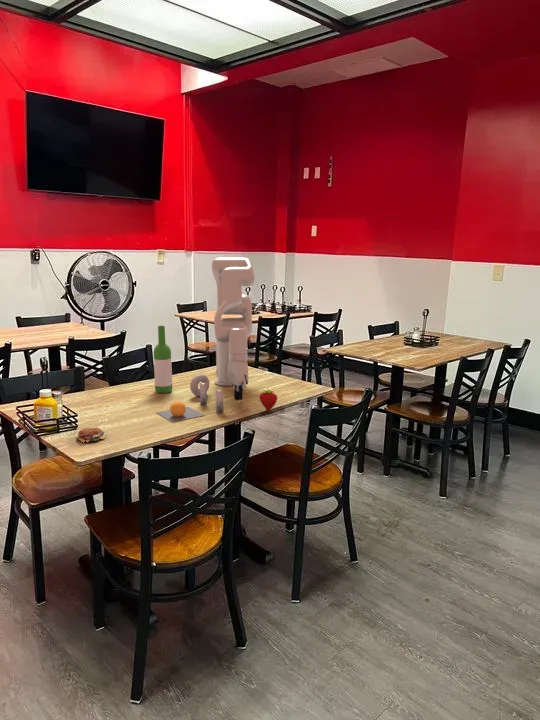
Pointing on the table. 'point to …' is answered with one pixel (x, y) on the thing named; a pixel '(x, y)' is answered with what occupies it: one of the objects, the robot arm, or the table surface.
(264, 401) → the strawberry
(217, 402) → the post
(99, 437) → the hamburger
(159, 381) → the wine bottle
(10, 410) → the table surface
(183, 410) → the ball
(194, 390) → the donut
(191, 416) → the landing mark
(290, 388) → the table surface
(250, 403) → the table surface
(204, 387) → the post
